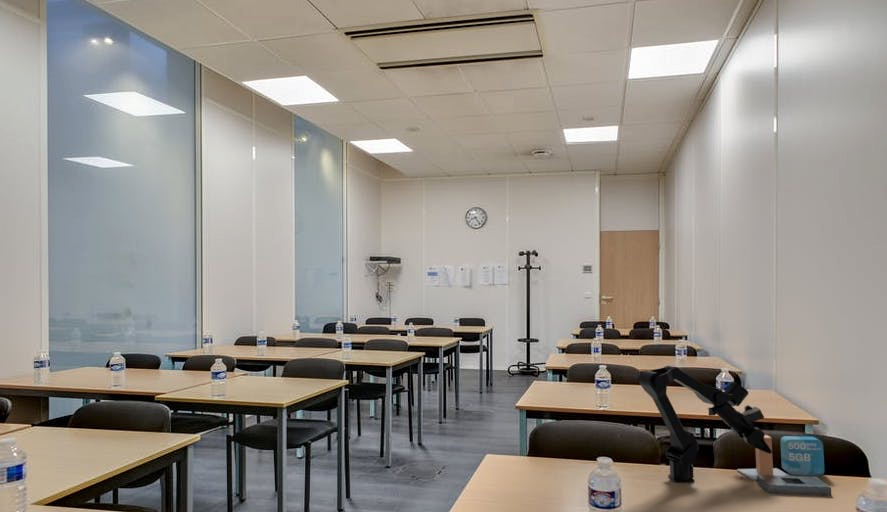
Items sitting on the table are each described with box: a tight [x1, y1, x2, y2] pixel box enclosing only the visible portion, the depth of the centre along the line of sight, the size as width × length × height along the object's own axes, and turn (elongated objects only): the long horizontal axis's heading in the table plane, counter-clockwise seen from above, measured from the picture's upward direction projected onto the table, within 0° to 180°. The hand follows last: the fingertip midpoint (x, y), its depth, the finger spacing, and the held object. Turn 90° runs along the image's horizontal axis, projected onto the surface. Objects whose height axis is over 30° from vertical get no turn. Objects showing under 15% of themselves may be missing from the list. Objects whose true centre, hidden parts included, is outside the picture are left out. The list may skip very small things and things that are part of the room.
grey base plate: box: [756, 475, 832, 497], centre depth 186 cm, size 18×10×2 cm, turn 79°
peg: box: [754, 434, 774, 475], centre depth 200 cm, size 4×4×12 cm
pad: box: [736, 467, 791, 481], centre depth 200 cm, size 14×10×1 cm
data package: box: [779, 435, 825, 476], centre depth 202 cm, size 12×4×12 cm, turn 80°
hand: (766, 449), depth 200 cm, fingers open, 9 cm apart
